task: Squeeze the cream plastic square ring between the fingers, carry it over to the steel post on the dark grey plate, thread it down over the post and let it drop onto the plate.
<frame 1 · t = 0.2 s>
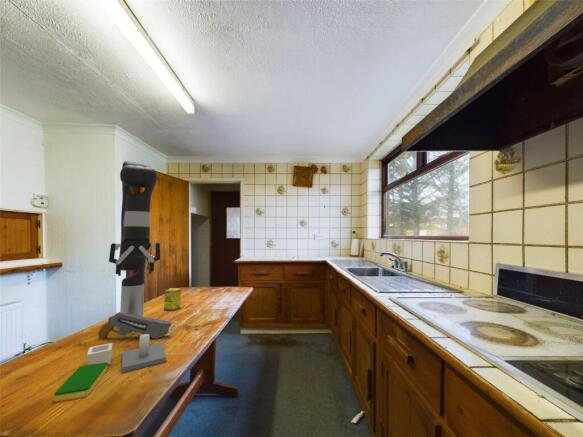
hand: (135, 274, 82), 28 cm above the table, tool pointing down, fingers open, 8 cm apart
ring: (99, 362, 80), on the table
dish sponge: (83, 385, 69), on the table
supplement box: (172, 309, 137), on the table
post stand: (143, 359, 82), on the table
gun: (134, 338, 100), on the table
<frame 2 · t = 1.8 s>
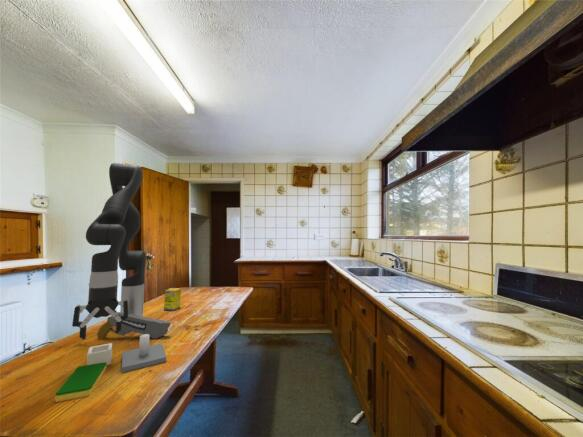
hand: (100, 335, 80), 8 cm above the table, tool pointing down, fingers open, 8 cm apart
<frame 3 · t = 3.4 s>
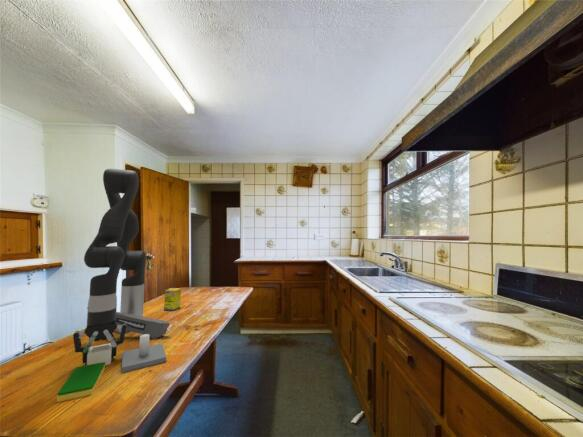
hand: (99, 360, 80), 1 cm above the table, tool pointing down, fingers closed on ring, 6 cm apart
ring: (99, 362, 80), on the table, touching gripper
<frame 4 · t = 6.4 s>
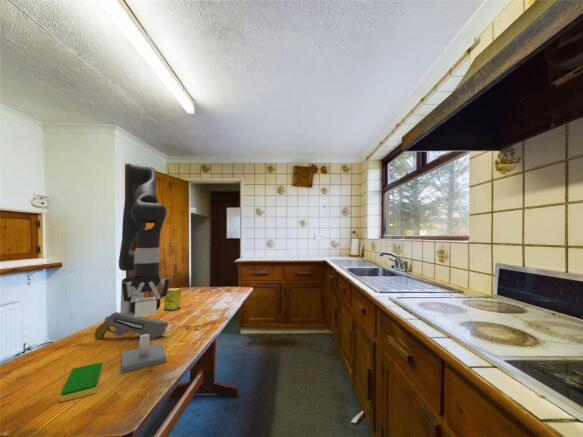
hand: (145, 311, 83), 15 cm above the table, tool pointing down, fingers closed on ring, 6 cm apart
ring: (145, 313, 83), point 15 cm above the table, touching gripper
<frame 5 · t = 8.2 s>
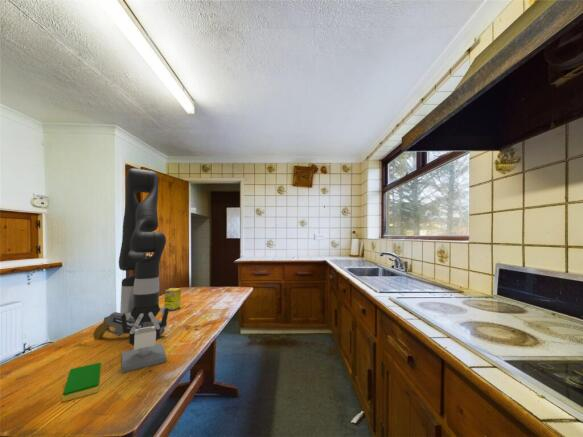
hand: (144, 342, 83), 5 cm above the table, tool pointing down, fingers closed on ring, 6 cm apart
ring: (144, 344, 83), point 5 cm above the table, touching gripper
when the fingers open (4 cm above the table, at t = 9.4 s): ring drops 2 cm, resting on post stand.
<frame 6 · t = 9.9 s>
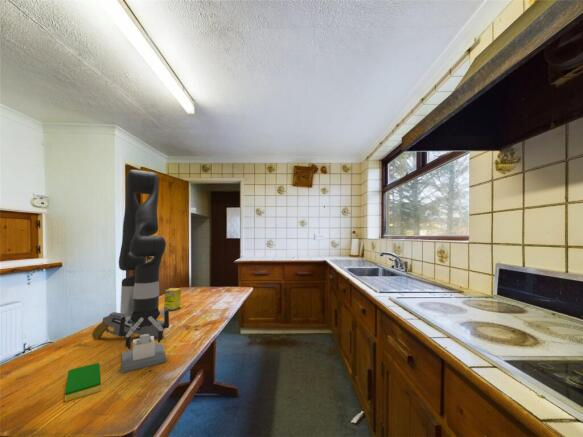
hand: (144, 344, 83), 5 cm above the table, tool pointing down, fingers open, 8 cm apart
ring: (143, 354, 82), point 1 cm above the table, touching post stand
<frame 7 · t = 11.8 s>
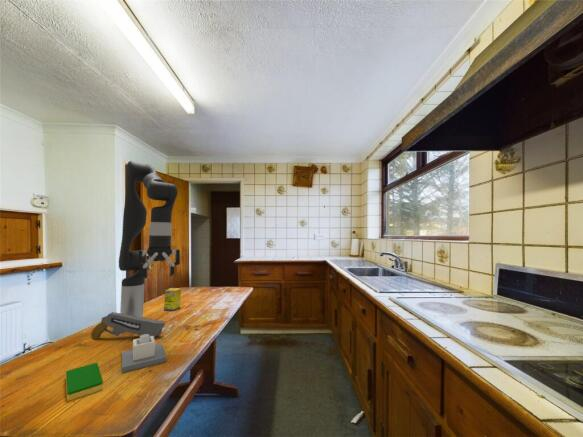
hand: (158, 277, 94), 25 cm above the table, tool pointing down, fingers open, 8 cm apart
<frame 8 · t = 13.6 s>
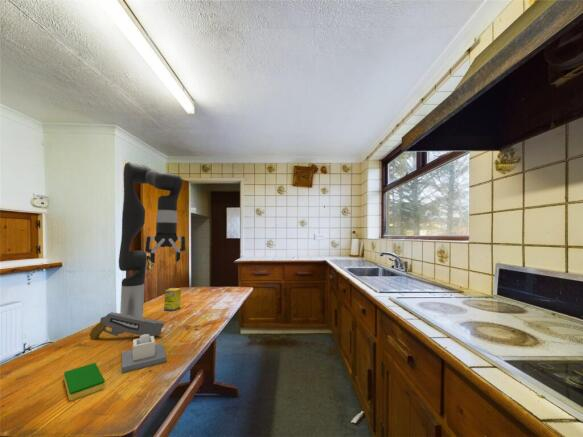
hand: (165, 262, 100), 30 cm above the table, tool pointing down, fingers open, 8 cm apart
at the end: ring 0.2 cm off-centre on the post stand, point 1.5 cm above the post stand's base; the gripper is holding nothing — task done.
